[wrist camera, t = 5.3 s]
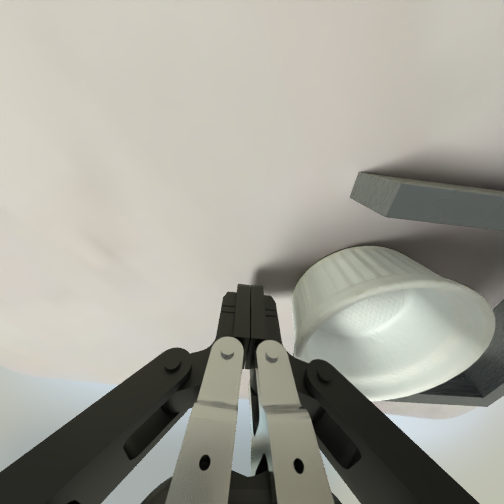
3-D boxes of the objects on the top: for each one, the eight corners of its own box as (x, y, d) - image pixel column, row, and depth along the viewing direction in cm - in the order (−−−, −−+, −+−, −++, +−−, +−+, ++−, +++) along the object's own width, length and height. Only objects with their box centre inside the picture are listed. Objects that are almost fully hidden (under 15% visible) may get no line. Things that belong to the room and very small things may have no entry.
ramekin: (270, 331, 15) (277, 396, 11) (304, 223, 10) (334, 269, 7) (379, 343, 15) (420, 408, 12) (452, 246, 11) (554, 299, 7)
